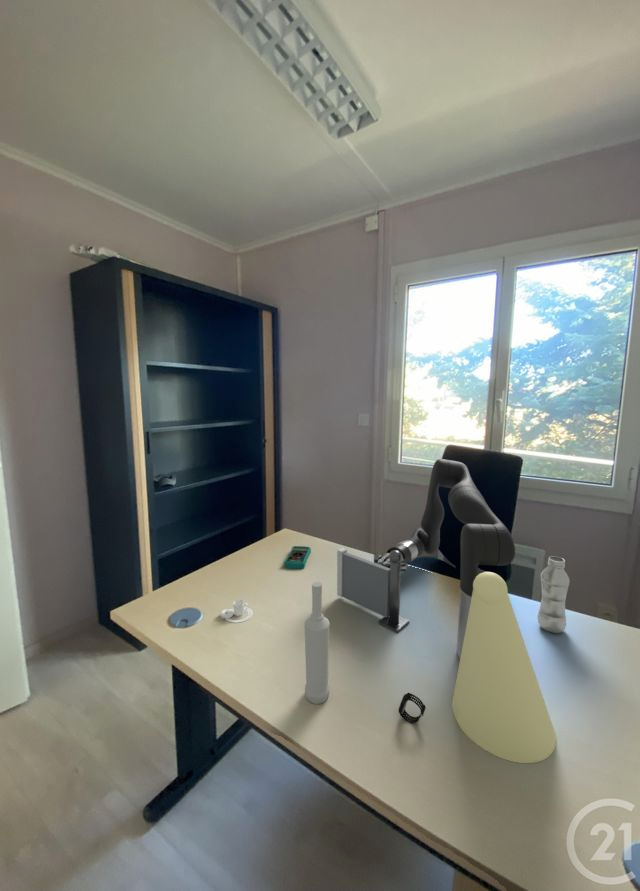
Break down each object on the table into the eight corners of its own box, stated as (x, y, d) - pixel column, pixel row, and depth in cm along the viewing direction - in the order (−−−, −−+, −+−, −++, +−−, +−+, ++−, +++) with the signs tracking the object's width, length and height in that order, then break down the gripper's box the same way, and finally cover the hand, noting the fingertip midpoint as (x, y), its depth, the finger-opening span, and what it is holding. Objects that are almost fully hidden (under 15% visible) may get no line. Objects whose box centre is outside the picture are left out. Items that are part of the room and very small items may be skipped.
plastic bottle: (571, 636, 97) (578, 564, 94) (545, 636, 97) (551, 564, 94) (556, 621, 103) (562, 553, 101) (531, 621, 103) (537, 553, 101)
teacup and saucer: (216, 621, 105) (216, 608, 104) (230, 606, 112) (229, 593, 112) (245, 626, 102) (244, 612, 102) (256, 610, 110) (256, 597, 110)
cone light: (471, 669, 85) (480, 524, 81) (565, 715, 73) (581, 546, 68) (421, 742, 68) (428, 560, 63) (533, 818, 55) (552, 600, 51)
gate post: (409, 623, 103) (411, 550, 100) (397, 633, 99) (399, 557, 96) (390, 614, 107) (392, 544, 104) (378, 623, 103) (380, 550, 100)
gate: (390, 614, 105) (392, 565, 103) (386, 618, 103) (387, 568, 101) (342, 592, 117) (342, 547, 115) (337, 595, 115) (337, 550, 113)
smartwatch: (407, 707, 75) (407, 684, 74) (427, 724, 71) (428, 701, 70) (393, 717, 73) (393, 694, 72) (414, 736, 69) (414, 712, 68)
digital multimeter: (283, 569, 136) (283, 561, 136) (292, 552, 151) (292, 544, 151) (304, 570, 135) (303, 562, 134) (311, 553, 150) (311, 545, 150)
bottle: (315, 681, 82) (315, 575, 79) (334, 693, 79) (334, 583, 75) (300, 696, 78) (298, 585, 75) (318, 709, 75) (318, 593, 71)
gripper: (386, 538, 133) (357, 553, 121) (420, 548, 124) (392, 565, 112) (386, 558, 134) (357, 575, 122) (419, 569, 125) (391, 589, 113)
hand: (374, 570), depth 117 cm, fingers closed
